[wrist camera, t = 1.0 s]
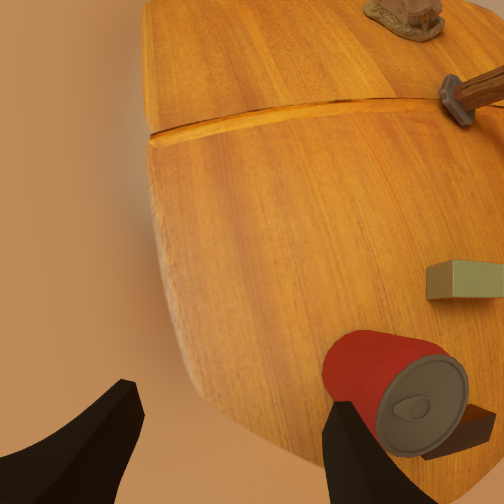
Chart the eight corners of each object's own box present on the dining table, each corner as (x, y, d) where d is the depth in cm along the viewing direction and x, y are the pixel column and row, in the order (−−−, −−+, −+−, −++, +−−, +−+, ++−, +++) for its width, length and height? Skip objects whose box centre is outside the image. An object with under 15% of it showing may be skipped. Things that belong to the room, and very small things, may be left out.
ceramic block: (484, 300, 22) (512, 297, 18) (425, 299, 23) (452, 297, 18) (484, 271, 23) (511, 264, 19) (426, 266, 23) (452, 259, 19)
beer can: (329, 324, 23) (386, 337, 11) (399, 333, 23) (488, 346, 11) (312, 398, 22) (348, 468, 10) (382, 405, 21) (453, 460, 10)
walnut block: (465, 429, 20) (488, 441, 15) (405, 442, 20) (425, 460, 16) (471, 403, 20) (496, 413, 16) (411, 415, 21) (434, 430, 17)
